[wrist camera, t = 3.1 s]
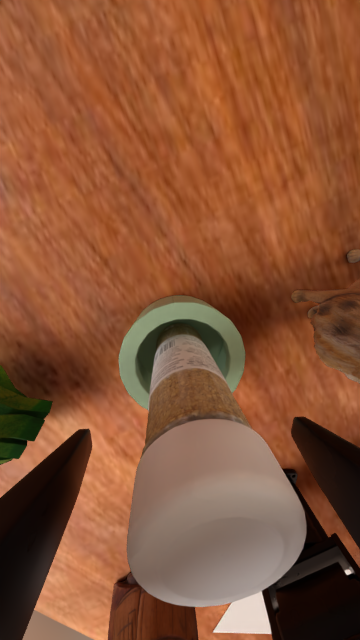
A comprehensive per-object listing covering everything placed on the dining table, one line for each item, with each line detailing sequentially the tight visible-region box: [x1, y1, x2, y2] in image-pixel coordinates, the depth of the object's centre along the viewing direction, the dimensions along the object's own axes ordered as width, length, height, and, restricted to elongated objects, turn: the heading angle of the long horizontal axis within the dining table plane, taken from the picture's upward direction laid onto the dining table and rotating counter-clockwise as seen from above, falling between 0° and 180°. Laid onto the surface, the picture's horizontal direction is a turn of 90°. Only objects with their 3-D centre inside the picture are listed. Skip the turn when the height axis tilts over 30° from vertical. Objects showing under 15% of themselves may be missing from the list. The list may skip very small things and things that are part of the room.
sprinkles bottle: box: [127, 323, 306, 607], centre depth 11 cm, size 5×5×13 cm
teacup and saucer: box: [213, 570, 351, 634], centre depth 29 cm, size 9×8×4 cm
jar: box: [119, 295, 245, 410], centre depth 15 cm, size 9×9×4 cm
